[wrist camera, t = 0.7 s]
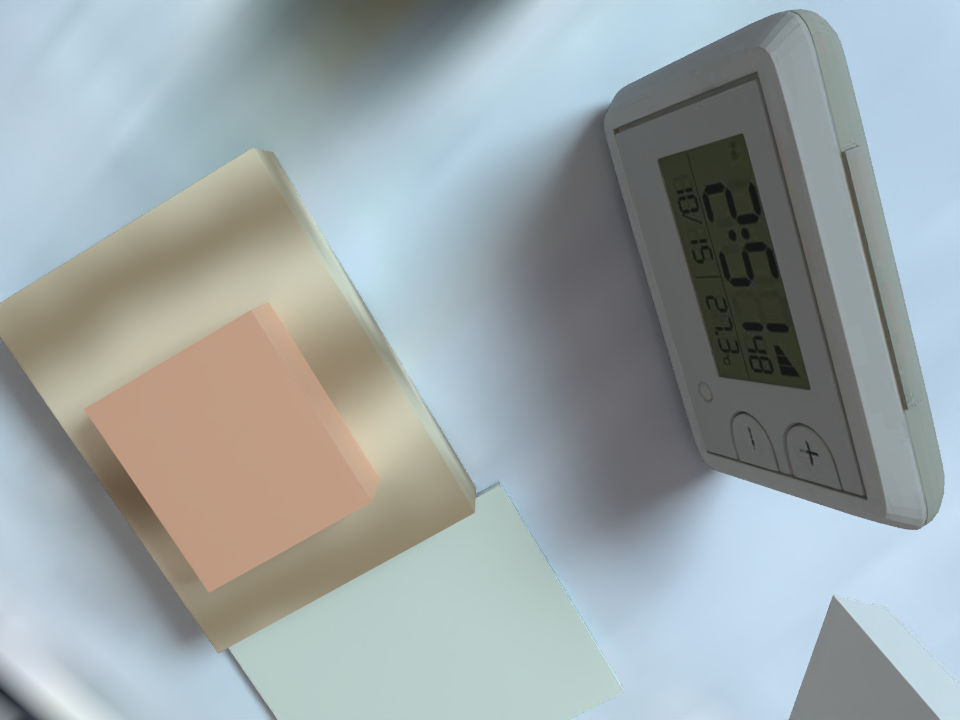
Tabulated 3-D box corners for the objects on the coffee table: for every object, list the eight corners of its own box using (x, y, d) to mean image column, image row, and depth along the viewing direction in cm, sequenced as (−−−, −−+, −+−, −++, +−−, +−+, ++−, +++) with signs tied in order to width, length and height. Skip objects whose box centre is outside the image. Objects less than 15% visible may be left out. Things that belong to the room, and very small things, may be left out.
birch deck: (26, 303, 35) (-17, 313, 32) (273, 152, 33) (252, 147, 30) (239, 617, 37) (218, 652, 34) (475, 487, 36) (474, 512, 33)
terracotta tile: (114, 393, 32) (83, 409, 30) (269, 301, 31) (250, 310, 29) (229, 564, 33) (209, 592, 31) (380, 479, 33) (371, 502, 30)
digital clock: (595, 78, 33) (646, 21, 22) (827, 49, 33) (988, -23, 22) (630, 474, 36) (690, 586, 25) (843, 450, 36) (992, 554, 25)
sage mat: (224, 633, 37) (221, 637, 37) (499, 481, 36) (499, 484, 35) (354, 823, 39) (353, 830, 39) (622, 686, 38) (623, 691, 37)
